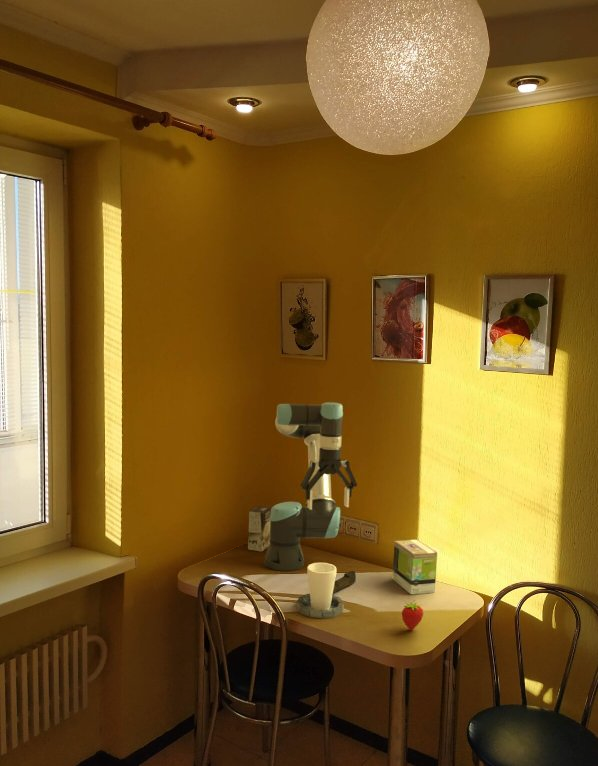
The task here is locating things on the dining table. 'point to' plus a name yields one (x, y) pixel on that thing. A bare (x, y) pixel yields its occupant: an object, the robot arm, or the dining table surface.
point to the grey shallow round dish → (307, 610)
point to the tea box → (414, 566)
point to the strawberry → (412, 615)
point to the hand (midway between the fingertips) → (328, 507)
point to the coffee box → (259, 528)
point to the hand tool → (345, 581)
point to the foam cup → (321, 584)
